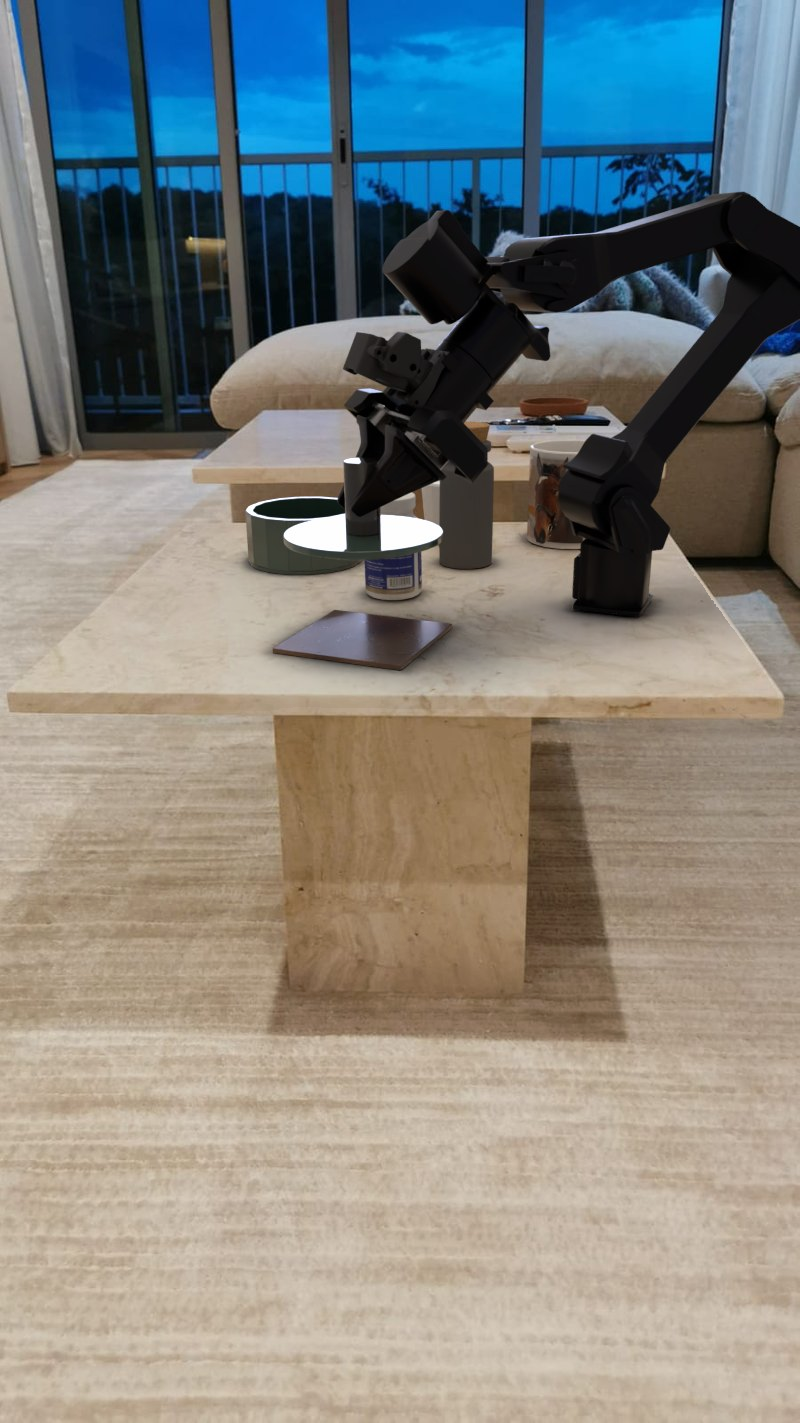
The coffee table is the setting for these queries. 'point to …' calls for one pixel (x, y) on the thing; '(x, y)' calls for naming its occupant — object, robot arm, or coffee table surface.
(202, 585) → the coffee table surface
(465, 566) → the bottle
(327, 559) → the tin
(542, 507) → the mug
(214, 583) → the coffee table surface
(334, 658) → the glossy brown square tile
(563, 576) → the coffee table surface
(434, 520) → the shot glass
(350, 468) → the tin lid
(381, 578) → the pill bottle
